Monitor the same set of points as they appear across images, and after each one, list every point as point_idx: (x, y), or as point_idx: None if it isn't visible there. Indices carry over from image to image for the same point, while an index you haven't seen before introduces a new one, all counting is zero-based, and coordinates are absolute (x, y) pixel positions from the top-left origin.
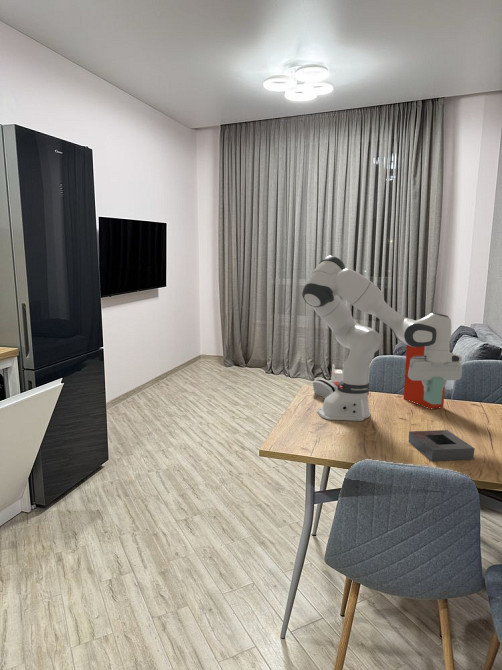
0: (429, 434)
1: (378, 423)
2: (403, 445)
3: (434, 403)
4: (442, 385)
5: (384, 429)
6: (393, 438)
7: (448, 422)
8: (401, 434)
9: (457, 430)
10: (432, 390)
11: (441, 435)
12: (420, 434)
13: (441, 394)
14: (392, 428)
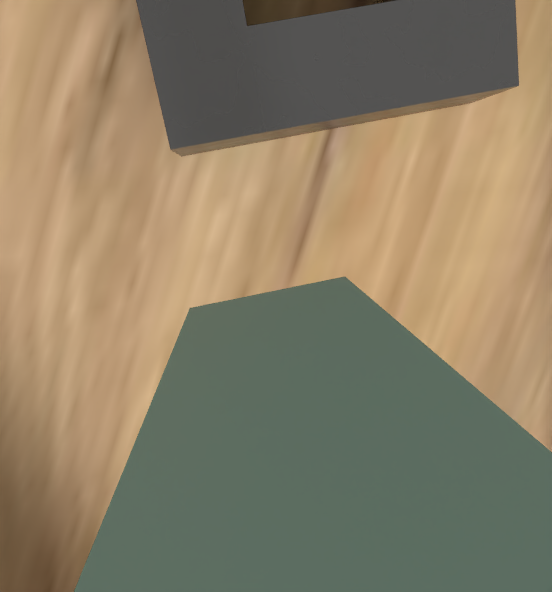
0: (370, 16)
1: (544, 430)
2: (530, 26)
3: (298, 287)
4: (125, 504)
5: (546, 327)
6: (549, 162)
7: (61, 514)
8: (467, 245)
9: (38, 369)
10: (432, 353)
11: (260, 26)
12: (451, 9)
13: (180, 361)
14: (487, 352)
